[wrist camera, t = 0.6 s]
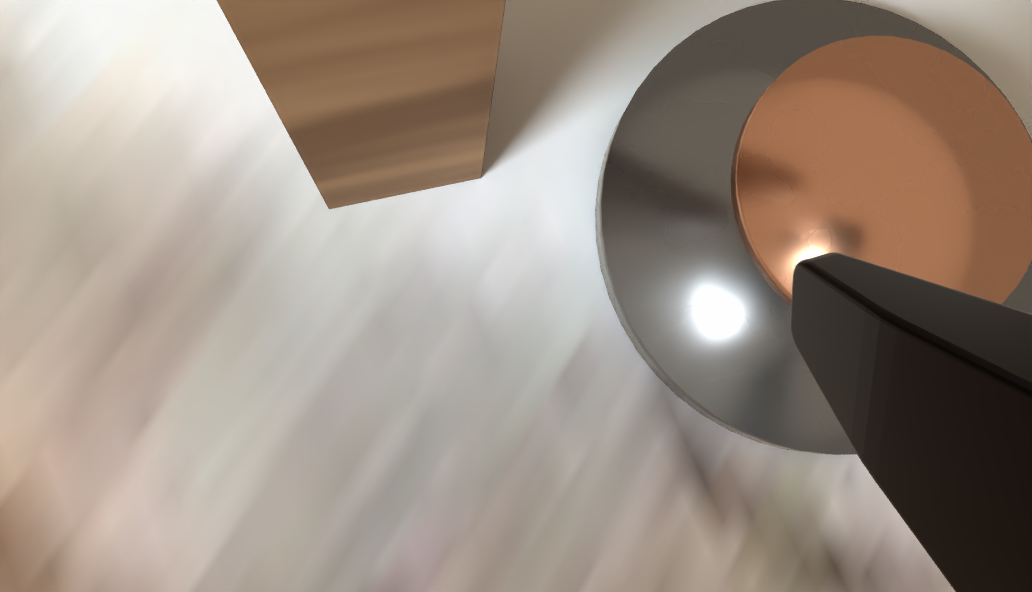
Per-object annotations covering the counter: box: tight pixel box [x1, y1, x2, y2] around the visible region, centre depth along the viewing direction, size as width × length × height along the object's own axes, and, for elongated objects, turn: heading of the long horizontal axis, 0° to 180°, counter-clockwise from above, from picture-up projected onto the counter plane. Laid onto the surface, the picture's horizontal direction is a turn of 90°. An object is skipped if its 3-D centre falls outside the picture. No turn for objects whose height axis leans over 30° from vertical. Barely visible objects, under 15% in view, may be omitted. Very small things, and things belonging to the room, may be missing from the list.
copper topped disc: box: [595, 0, 1032, 455], centre depth 21 cm, size 12×12×4 cm
